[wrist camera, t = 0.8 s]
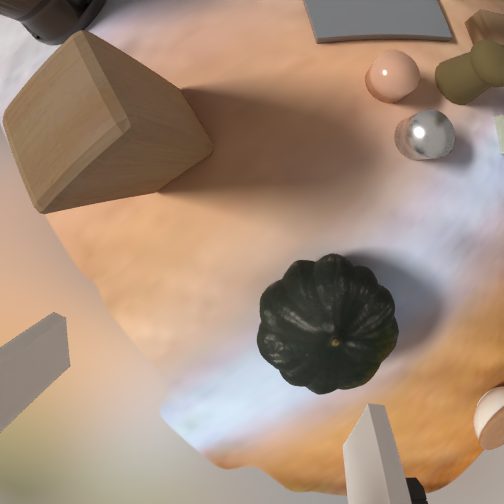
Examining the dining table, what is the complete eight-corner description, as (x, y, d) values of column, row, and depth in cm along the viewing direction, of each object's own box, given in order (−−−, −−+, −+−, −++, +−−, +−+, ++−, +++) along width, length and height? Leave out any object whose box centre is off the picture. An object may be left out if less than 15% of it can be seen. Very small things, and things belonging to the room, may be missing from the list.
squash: (326, 410, 35) (400, 418, 21) (221, 354, 35) (246, 337, 22) (368, 316, 41) (442, 282, 28) (277, 260, 41) (323, 199, 28)
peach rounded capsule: (360, 65, 30) (369, 50, 25) (399, 63, 29) (412, 49, 24) (370, 104, 31) (382, 94, 26) (409, 101, 30) (425, 92, 25)
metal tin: (390, 119, 31) (408, 110, 25) (427, 117, 30) (449, 108, 24) (398, 161, 32) (417, 159, 26) (435, 158, 31) (458, 156, 25)
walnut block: (464, 22, 25) (480, 9, 21) (489, 27, 25) (506, 15, 20) (476, 53, 27) (494, 43, 22) (501, 57, 26) (519, 48, 21)
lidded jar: (455, 424, 39) (472, 460, 30) (483, 375, 37) (508, 409, 28) (494, 420, 39) (513, 451, 30) (521, 375, 36) (546, 403, 27)
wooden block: (116, 132, 35) (-5, 116, 16) (178, 84, 33) (80, 20, 14) (152, 196, 37) (35, 222, 18) (219, 150, 35) (136, 126, 15)
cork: (456, 113, 29) (505, 97, 19) (426, 74, 29) (467, 44, 18) (480, 91, 28) (529, 73, 17) (452, 53, 27) (494, 24, 17)
